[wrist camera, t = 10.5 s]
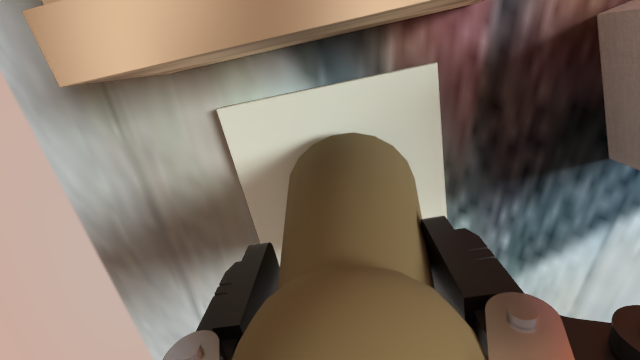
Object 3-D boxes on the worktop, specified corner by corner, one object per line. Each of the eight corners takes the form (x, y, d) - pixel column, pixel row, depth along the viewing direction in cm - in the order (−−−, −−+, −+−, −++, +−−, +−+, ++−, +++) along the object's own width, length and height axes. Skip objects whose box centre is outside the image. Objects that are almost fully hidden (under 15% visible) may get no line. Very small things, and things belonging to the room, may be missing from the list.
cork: (360, 267, 16) (384, 626, 6) (264, 204, 15) (103, 509, 5) (444, 184, 14) (692, 524, 4) (338, 104, 13) (314, 290, 3)
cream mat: (432, 62, 14) (437, 62, 13) (445, 249, 17) (449, 255, 17) (220, 107, 15) (216, 109, 14) (274, 273, 19) (272, 280, 18)
